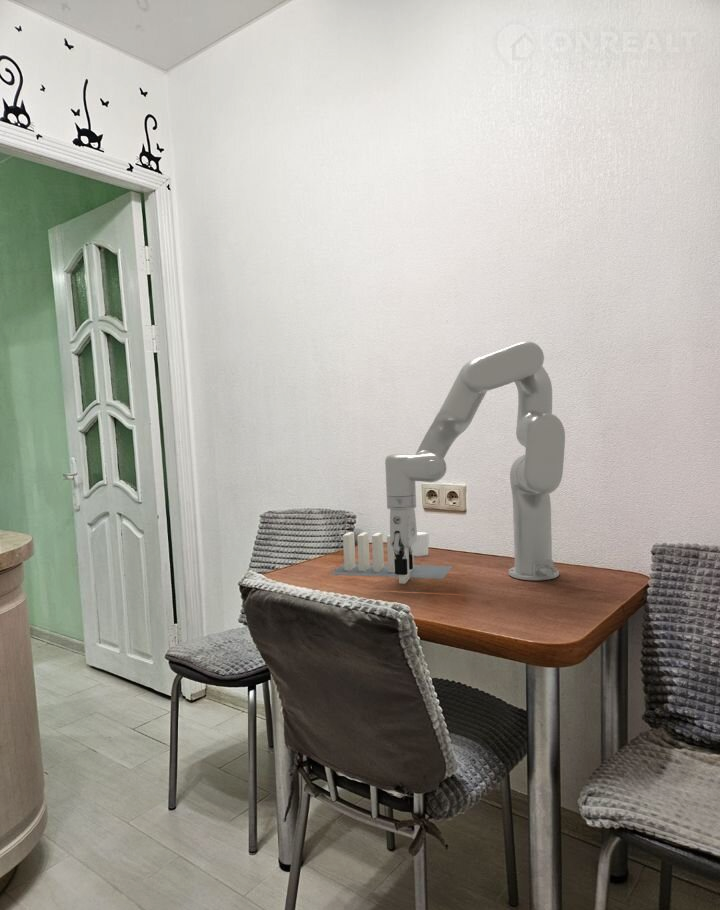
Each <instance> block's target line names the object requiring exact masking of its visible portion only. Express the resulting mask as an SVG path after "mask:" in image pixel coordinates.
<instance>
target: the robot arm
mask: <svg viewBox="0 0 720 910" xmlns="http://www.w3.org/2000/svg"><path fill="white" fill-rule="evenodd" d="M544 361H545V355H544V351H543V350H542V347H540V346H539V345H538V344H537V343H535V342H532V341H529V340H528V341H521V342H518V343H516V344H513V345H510V346H509V347H505V348H503V349H499V350H498V351H495V352H492V353H489V354H485V355H484V356H480V357H476V358H474V359H472V360H469V361H467V362H465V364H464V365H463V366H462V367H461V369H460V371H459V372H458V374H457V376H456V378H455V379H454V382H453V384H452V386H451V388H450V389H449V392H448V394H447V396H446V397H445V399H444V401H443V404H442V405H441V407H440V409H439V410H438V413H437V414H436V415H435V418H434V419H433V421H432V423H431V425H430V426H429V428H428V430H427V431H426V433H425V435H424V437H423V438H422V441H421V442H420V444H419V446H418V448H417V450H416V452H415V454H414V455H412V454H409V453H397V454H396V453H395V454H389V455H387V456H386V458H385V459H384V461H385V463H384V464H385V466H384V467H385V485H386V488H385V489H386V508H387V509H388V510H390V511H389V534H390V542H391V546H392V547H393V551H394V563H395V574H396V575H407V573H408V572H407V559H406V547H407V548H409V569H410V570H412V569H413V555H412V545H413V544H414V543H416V541H417V531H418V530H417V529H418V528H417V520H416V518H417V517H416V510H415V508H417V496H416V495H417V494H416V492H417V490H416V482H425V483H434V482H438V481H440V480H441V479H443V478H444V476H445V475H446V473H447V463H446V461H445V457H446V455H447V453H449V452H448V451H449V450H450V448H451V446H452V445H453V443H454V442H455V441H456V440H457V438H458V437H459V436H460V435H461V434H463V433H464V432H465V431H466V430H467V429H468V428H469V426H470V425H471V423H472V421H473V419H474V418H475V415H476V413H477V411H478V409H479V407H480V405H481V403H482V401H483V400H484V398H485V396H486V394H487V392H488V391H491V390H495V389H498V388H501V387H503V386H506V385H509V384H512V383H514V384H515V386H516V388H517V389H516V390H517V395H518V396H517V397H518V400H517V402H518V404H517V405H518V406H517V415H516V416H517V418H516V420H517V421H516V427H515V428H516V429H515V434H516V435H515V436H516V439H517V441H518V443H519V444H520V445H521V446H522V447H524V448H525V453H524V454H523V455H521V456H519V457H517V458H516V459H514V460H515V461H514V462H513V463H512V465H511V467H510V472H509V481H510V488H511V495H512V510H513V512H512V513H513V514H512V515H513V516H512V517H513V522H512V523H513V550H514V556H513V557H514V566H513V567H511V568H509V569H508V575H509V576H510V577H512V578H514V579H516V580H517V579H518V580H523V581H547V580H554V579H556V578H557V577H559V574H560V573H559V572H560V571H559V570H558V568H557V567H555V566H554V560H553V547H552V543H553V542H552V539H553V537H552V505H551V504H552V502H551V497H550V494H552V493H554V492H555V491H556V490H557V489H558V488H559V486H560V484H561V483H562V479H563V474H564V473H563V471H564V463H565V462H564V461H565V444H566V432H565V426H564V424H563V423H562V421H561V419H560V418H559V417H558V416H557V415H555V414H553V386H552V381H551V377H550V376H549V373H548V372H547V370H546V369H545V368H544V366H543V365H544ZM400 545H404V546H403V547H400ZM400 549H403V553H402V551H401V550H400Z"/></svg>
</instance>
